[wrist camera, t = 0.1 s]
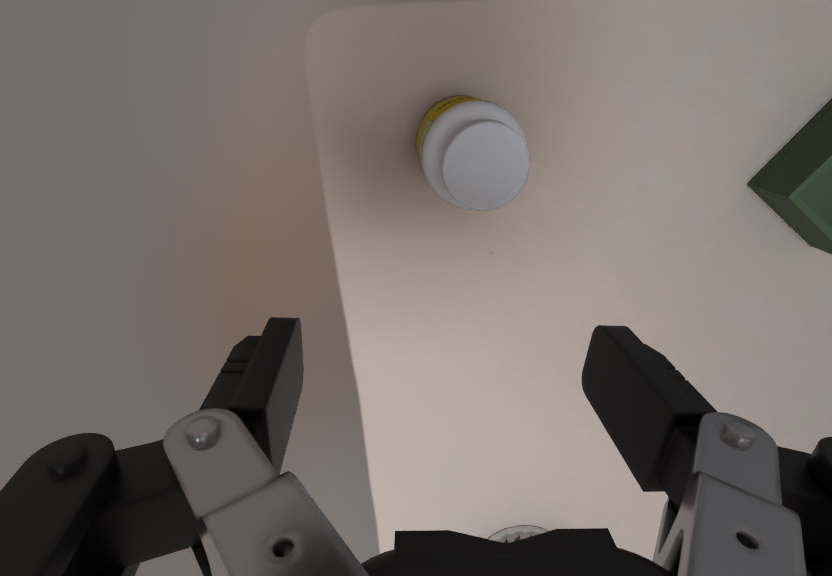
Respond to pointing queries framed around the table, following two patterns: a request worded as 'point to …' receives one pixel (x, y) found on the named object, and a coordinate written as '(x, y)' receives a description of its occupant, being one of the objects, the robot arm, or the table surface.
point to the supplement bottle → (472, 153)
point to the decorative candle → (516, 533)
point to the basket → (803, 182)
